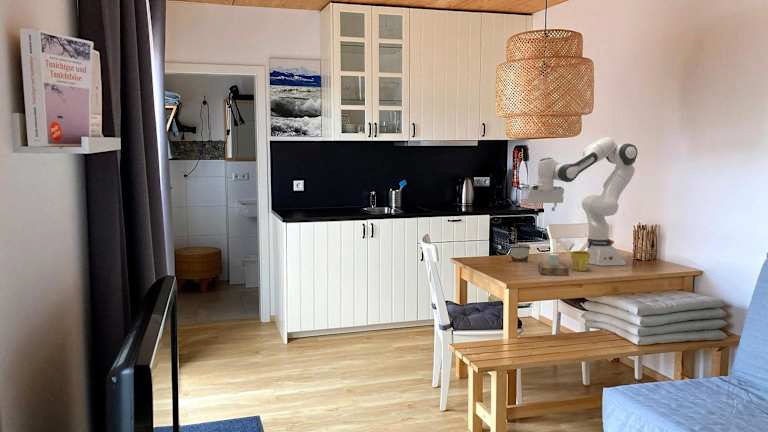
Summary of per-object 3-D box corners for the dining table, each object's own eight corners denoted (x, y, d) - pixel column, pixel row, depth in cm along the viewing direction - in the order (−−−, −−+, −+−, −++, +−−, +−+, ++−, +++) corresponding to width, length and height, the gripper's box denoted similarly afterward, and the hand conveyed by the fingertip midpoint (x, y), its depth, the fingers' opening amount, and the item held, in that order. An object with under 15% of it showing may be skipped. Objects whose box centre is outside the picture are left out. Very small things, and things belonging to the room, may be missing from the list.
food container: (529, 260, 385) (529, 243, 384) (530, 262, 379) (530, 245, 378) (507, 260, 386) (508, 243, 385) (508, 262, 380) (509, 245, 379)
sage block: (557, 264, 352) (557, 253, 351) (558, 266, 347) (558, 255, 346) (547, 264, 352) (548, 253, 352) (549, 266, 348) (549, 255, 347)
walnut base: (563, 270, 356) (564, 263, 356) (568, 275, 342) (568, 268, 342) (537, 269, 358) (538, 262, 357) (541, 275, 344) (541, 267, 344)
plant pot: (566, 269, 358) (566, 252, 357) (577, 267, 365) (578, 250, 363) (582, 272, 350) (582, 254, 349) (593, 270, 356) (594, 252, 355)
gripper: (563, 186, 370) (562, 210, 371) (526, 186, 372) (526, 209, 373) (565, 187, 363) (564, 211, 365) (527, 186, 366) (527, 211, 367)
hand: (544, 210), depth 369 cm, fingers open, 8 cm apart
